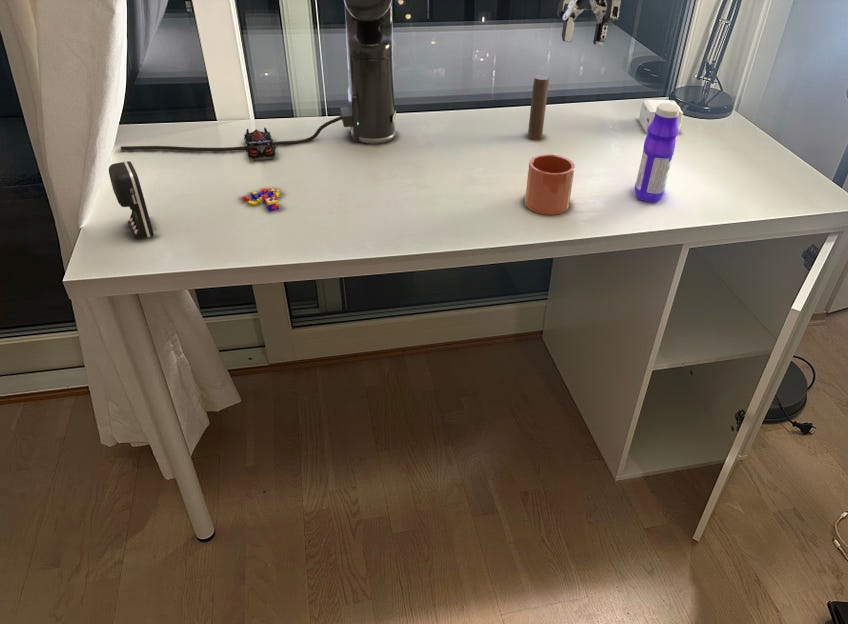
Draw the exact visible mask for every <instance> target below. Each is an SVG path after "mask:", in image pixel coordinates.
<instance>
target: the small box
mask: <svg viewBox="0 0 848 624" xmlns="http://www.w3.org/2000/svg"><path fill="white" fill-rule="evenodd" d="M661 103H671V104H675V105H677V106H678V107H679V108H680V111H679V115H678V121H677V125H678V130H679V131H680V129H681V125H682V121H683V116H684V112H683V111H682V109H681V107H680V105H678V103H677V102H676V101H675V100H673V99H672V100H671V99H642V102H641V107H640V112H639V117H638V121H639V123H640V124H641V127H642V128H643V130H644V133H646V134H648V130H647V129H648V126H649V125H650V124H651V123H652V121H653V119H654V116H655V113H656V109H657V105H658V104H661Z"/></svg>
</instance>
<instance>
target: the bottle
mask: <svg viewBox="0 0 848 624" xmlns="http://www.w3.org/2000/svg"><path fill="white" fill-rule="evenodd" d="M677 105H678V104H677ZM677 105H675V104H671V103H661V104H658V105H657V109H656V113H655V116H654V119H653V121H652V123H651V124H650V125H649V126H648V129H647V130H648V133H647V135H646V137H645V140H644V143H643V149H642V155H641V158H640V164H639V167H638V172H637V176H636V181H635V183H634V194H635V196H636V198H637V199H638V200H641V201H645V202H649V203H650V202H653V203H657V202H659V201H661V199H662V198H663V197H664V195H665V192H666V185H667V180H668V176H669V172H670V167H671V164H672V160H673V156H674V153H675V150H676V145H677V144H676V143H677V137H678V136H679V133H680V129H679V130H678V125H677V121H678V115H679V111H680V109H681V107H680V106H679V105H678V106H679V107H680V108H679V107H678V106H677Z"/></svg>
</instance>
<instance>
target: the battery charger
mask: <svg viewBox="0 0 848 624" xmlns="http://www.w3.org/2000/svg"><path fill="white" fill-rule="evenodd" d="M108 175H109V178H110V183H111V187H112V190H113V194H114V196H115V198H116V200H117V203H118V205H120V207H122V208H129V210H130V211H131V213H130V217H129V219H128V220H127V225H128V228H129V230H130V232H131V234H132V236H133V238H134V239H145V238H151V237H153V236H154V235H155V233H154V230H153V226H152V221H151V218H150V215H149V211H148V208H147V203H146V200H145V197H144V193H143V190H142V186H141V183H140V179H139V175H138V173H137V171H136V168H135V167H134V165H133V162H132V161H130V160H123V161H122V162H116V163H115V162H114V163H111V164H110V165H109V167H108Z"/></svg>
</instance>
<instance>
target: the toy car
mask: <svg viewBox="0 0 848 624" xmlns="http://www.w3.org/2000/svg"><path fill="white" fill-rule="evenodd" d="M249 130H250V129H248V128H246V131H245V133H244V134H243V136H244V137H243V139H244V143H245V145H246V146H247V147H245V150H244V151H245V153H247V156H248V158H249V159H250V160H251V161H262V160H269V159H272V160H273V159H274V157H275V156H276V150H277V146H276V145H273V143H272V142H274V140H273V138H272V135H271V132H270V131H268V130H267V127H265V126H264V128H263V131H260V130H259V129H257V128H255V130H253V131H252V132H249Z"/></svg>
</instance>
